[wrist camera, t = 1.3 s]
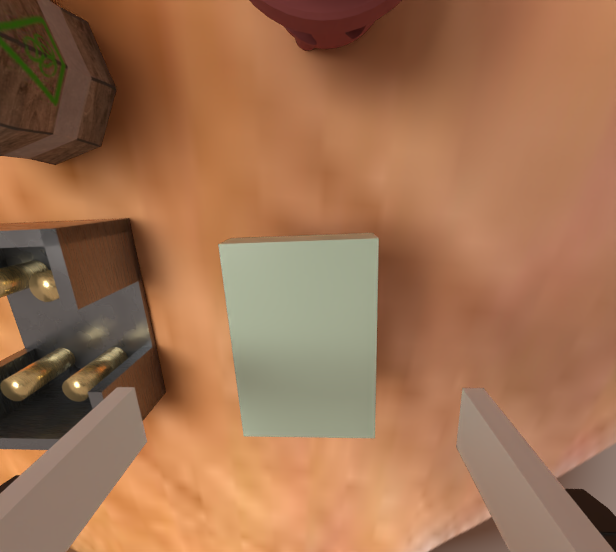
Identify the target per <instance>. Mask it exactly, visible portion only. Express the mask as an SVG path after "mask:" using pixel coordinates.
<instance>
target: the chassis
mask: <svg viewBox="0 0 616 552" xmlns="http://www.w3.org/2000/svg"><path fill="white" fill-rule="evenodd" d="M4 296H7V297H8V300H9V303H10V306H11V309H12V312H13V315H14V317H15V320H16V323H17V326H18V329H19V332H20V335H21V338H22V340H23V343H24V346H25V348H24V349H23V350H21V351H19V352H17V353H15V354H13V355H11V356H9V357H7V358H5V359H3V360H1V361H0V449H30V450H49V449H50V448H51V447H52V446H53V445H54V444H55V443H56V442H57V441H59V440H60V439H61V438H62V437H63V436H64V435H65V434H66V433H67V432H68V431H70V430H71V429H72V428H73V427H74V426H75V425H76V424H77V423H78V422H79V421H81V420H82V419H83V418H84V417H85V416H86V415H87V414H88V413H89V412H90V411H92V410H93V409H94V408H95V407H96V406H97V405H98V404H99V403H100V402H101V401H103V400H104V399H105V398H106V397H107V396H108V395H109V394H110V393H111V392H112V391H114V390H115V389H116V388H117V387H135V392H136V396H137V400H138V405H139V409H140V413H141V417H142V421H143V420H144V419H145V417H146V416H147V415H148V414H149V412H150V411H151V410H152V409H153V407H154V406H155V405H156V404H157V403H158V401H159V400H160V399H161V398H162V396H163V395H164V394H165V393H166V391H165V386H164V381H163V376H162V372H161V367H160V362H159V358H158V353H157V348H156V343H155V339H154V334H153V329H152V324H151V320H150V315H149V310H148V306H147V301H146V296H145V291H144V287H143V282H142V277H141V272H140V268H139V263H138V258H137V254H136V249H135V244H134V239H133V235H132V230H131V225H130V220H129V218H124V219H101V220H79V221H56V222H34V223H11V224H0V298H1V297H4Z"/></svg>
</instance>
